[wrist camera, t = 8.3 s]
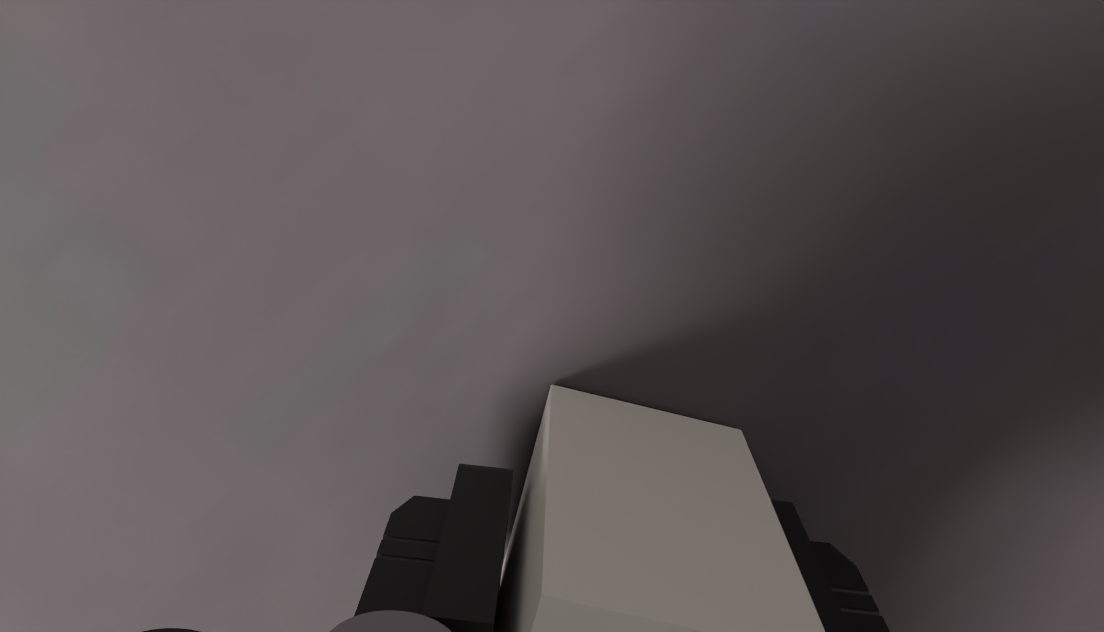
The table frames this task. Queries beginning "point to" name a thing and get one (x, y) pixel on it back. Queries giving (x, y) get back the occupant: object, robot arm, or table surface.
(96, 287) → the table surface
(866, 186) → the table surface
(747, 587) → the white bar
